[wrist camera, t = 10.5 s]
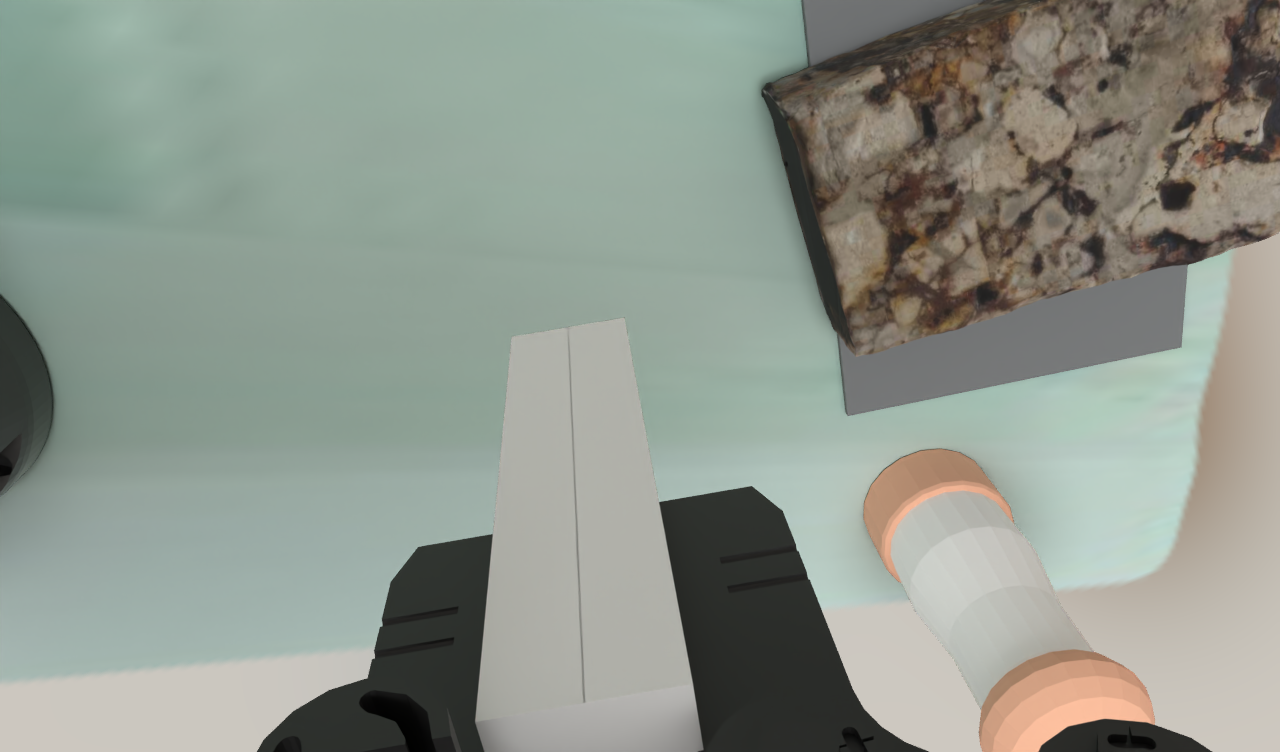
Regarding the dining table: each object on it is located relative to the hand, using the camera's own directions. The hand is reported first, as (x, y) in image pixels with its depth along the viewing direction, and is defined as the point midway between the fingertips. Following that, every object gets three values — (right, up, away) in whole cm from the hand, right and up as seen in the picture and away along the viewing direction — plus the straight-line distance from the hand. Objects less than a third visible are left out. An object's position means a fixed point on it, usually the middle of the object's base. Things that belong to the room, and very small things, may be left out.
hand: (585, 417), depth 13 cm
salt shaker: (+17, -7, +41) cm, 45 cm away
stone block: (+8, +7, +30) cm, 32 cm away
